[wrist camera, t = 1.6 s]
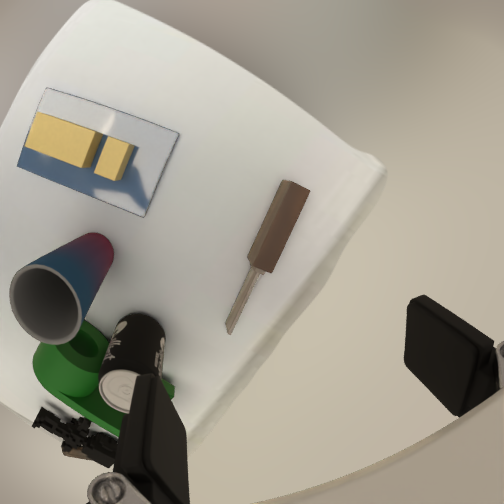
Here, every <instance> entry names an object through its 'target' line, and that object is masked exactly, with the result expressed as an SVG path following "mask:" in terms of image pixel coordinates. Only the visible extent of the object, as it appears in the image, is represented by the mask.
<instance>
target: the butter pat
mask: <svg viewBox="0 0 504 504" xmlns="http://www.w3.org/2000/svg"><path fill="white" fill-rule="evenodd" d="M133 149H134V145H132V144H129V143H126V142H124V141H121V140H118V139H116V138H113V137H110V136H108V138H107V140H106V143H105V145H104V148H103V150H102V153H101V155H100V158H99V160H98V163H97V166H96V168H95V171H94V173H95V174H98V175H100V176H103V177H105V178H108V179H110V180H113V181H117V180H121V178H122V176H123V173H124V171H125V168H126V166H127V163H128V161H129V158H130V156H131V153H132V151H133Z"/></svg>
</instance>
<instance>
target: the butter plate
mask: <svg viewBox="0 0 504 504" xmlns="http://www.w3.org/2000/svg"><path fill="white" fill-rule="evenodd" d="M37 112H41V113H44V114H47V115H51V116H54V117H57V118H60V119H62V120H65V121H68V122H71V123H74V124H77V125H80V126H83V127H86V128H88V129H91V130H94V131H97V132H99V133H102V134H103V136H102V139H101V141H100V143H99V146H98V148H97V151H96V154H95V156H94V159H93V161H92V164H91V167H90V168H80V167H77V166H74V165H72V164H69V163H67V162H64V161H61V160H59V159H56V158H54V157H51V156H48V155H46V154H43V153H41V152H38V151H35V150H33V149H30V148H27V147H25V143H26V140H27V138H28V135H29V132H30V129H31V127H32V124H33V121H34V119H35V116H36V114H37ZM108 136H110V137H113V138H116V139H118V140H121V141H124V142H126V143H129V144H132V145H134V149H133V151H132V153H131V156H130V158H129V161H128V163H127V166H126V168H125V171H124V173H123V176H122V178H121V180H117V181H113V180H110V179H108V178H105V177H103V176H100V175H98V174H95V173H94V171H95V168H96V166H97V163H98V160H99V158H100V155H101V153H102V150H103V148H104V145H105V143H106V140H107V138H108ZM178 136H179V133H177V132H174V131H172V130H169V129H167V128H164V127H162V126H159V125H157V124H154V123H151V122H149V121H146V120H143V119H141V118H138V117H135V116H132V115H130V114H127V113H124V112H121V111H118V110H116V109H113V108H110V107H107V106H104V105H101V104H98V103H95V102H92V101H89V100H86V99H83V98H80V97H77V96H73V95H70V94H67V93H64V92H60V91H57V90H54V89H50V88H46V89H45V92H44V94H43V96H42V98H41V101H40V103H39V105H38V108H37V110H36V113H35V115H34V118H33V120H32V123H31V126H30V128H29V131H28V134H27V137H26V140H25V142H24V145H23V148H22V151H21V155H20V158H19V161H18V164H17V167H19V168H22V169H24V170H27V171H29V172H32V173H34V174H37V175H39V176H41V177H44V178H46V179H49V180H51V181H54V182H56V183H59V184H61V185H64V186H66V187H68V188H71V189H73V190H76V191H78V192H81V193H83V194H86V195H88V196H91V197H93V198H96V199H98V200H101V201H103V202H106V203H108V204H111V205H113V206H116V207H118V208H121V209H123V210H126V211H128V212H131V213H133V214H136V215H138V216H141V217H145V215H146V212H147V210H148V207H149V204H150V202H151V199H152V197H153V194H154V192H155V189H156V187H157V184H158V182H159V179H160V177H161V175H162V172H163V170H164V168H165V165H166V163H167V161H168V158H169V156H170V154H171V151H172V149H173V147H174V145H175V143H176V140H177V138H178Z"/></svg>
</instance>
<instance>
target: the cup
mask: <svg viewBox="0 0 504 504" xmlns="http://www.w3.org/2000/svg"><path fill="white" fill-rule="evenodd" d="M113 258H114V251H113V247H112V245H111V243H110V241H109V240H108V239H107V238H106V237H105V236H103V235H101V234H99V233H88V234H85V235H83V236H81V237H79V238H77V239H75V240H73V241H71V242H69V243H67V244H65V245H63V246H61V247H59V248H58V249H56V250H54V251H52V252H50V253H48V254H46V255H44V256H42V257H41V258H39V259H37V260H35V261H33V262H31V263H30V264H28V265H26V266H24V267H23V268H21V269H20V270H19V271H18V272H17V273H16V274H15V275H14V277H13V279H12V281H11V285H10V292H9V297H10V304H11V308H12V311H13V313H14V315H15V317H16V319H17V321H18V322H19V324H20V325H21V327H22V328H23V329H24V330H25V331H26V332H27V333H28V334H29V335H31V336H32V337H34V338H35V339H37V340H39V341H41V342H43V343H47V344H52V345H59V344H63V343H66V342H68V341H70V340H71V339H73V338H74V337H75V336H76V334H77V333H78V331H79V329H80V327H81V325H82V323H83V321H84V318H85V316H86V314H87V312H88V310H89V308H90V306H91V304H92V302H93V300H94V298H95V296H96V293H97V291H98V289H99V288H100V286H101V284H102V282H103V280H104V278H105V276H106V274H107V272H108V270H109V268H110V266H111V264H112V262H113Z"/></svg>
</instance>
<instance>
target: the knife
mask: <svg viewBox="0 0 504 504" xmlns="http://www.w3.org/2000/svg"><path fill="white" fill-rule="evenodd" d="M309 193H310V190H308V189H306V188H304V187H302V186H300V185H298V184H296V183H294V182H292V181H287V180H282V182H281V184H280V186H279V189H278V191H277V193H276V195H275V197H274V200H273V202H272V204H271V206H270V208H269V210H268V213H267V215H266V217H265V219H264V221H263V224H262V226H261V228H260V230H259V232H258V235H257V237H256V239H255V241H254V243H253V245H252V248H251V250H250V252H249V254H248V256H247V257H248V259H249V261H250V265H251V269H250V271H249V273H248V275H247V278H246V280H245V282H244V284H243V286H242V288H241V291H240V293H239V295H238V297H237V299H236V301H235V303H234V306H233V308H232V310H231V312H230V314H229V316H228V318H227V321H226V323H225V324H226V328H227V333H228V334H229V335H231V333H232V331H233V329H234V327H235V325H236V323H237V321H238V319H239V317H240V315H241V312H242V310H243V308H244V306H245V304H246V302H247V300H248V298H249V296H250V294H251V292H252V289H253V287H254V285H255V283H256V281H257V279H258V277H259V275H260V274H262V275H264V273H265V271H266V272H269V273H272V272H273V270H274V268H275V265H276V263H277V261H278V259H279V257H280V255H281V253H282V251H283V249H284V247H285V244H286V242H287V240H288V238H289V236H290V234H291V232H292V230H293V227H294V225H295V223H296V221H297V219H298V217H299V215H300V212H301V210H302V208H303V206H304V204H305V202H306V199H307V197H308V195H309Z"/></svg>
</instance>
